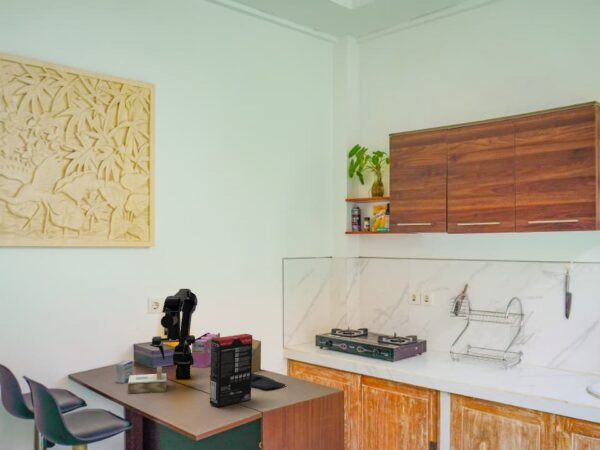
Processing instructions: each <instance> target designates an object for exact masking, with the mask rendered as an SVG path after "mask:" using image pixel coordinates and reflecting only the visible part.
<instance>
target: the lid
mask: <svg viewBox="0 0 600 450" xmlns="http://www.w3.org/2000/svg"><path fill="white" fill-rule="evenodd" d="M162 371H163V367H162V366H157V367H156V373H154V374H153V373H151V374H150V373H149V374H133V375H130V377H129V381H128V383H127V385H128V384H136V383H154V382H166V383H167V373H163V372H162Z"/></svg>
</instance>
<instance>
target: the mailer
mask: <svg viewBox="0 0 600 450" xmlns="http://www.w3.org/2000/svg"><path fill="white" fill-rule="evenodd" d="M151 392H152V393H164V392H165V393H166V392H167V381H166V382H154V383H136V384H128V383H127V394H128V395H131V394H134V395H136V394H151Z"/></svg>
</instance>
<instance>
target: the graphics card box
mask: <svg viewBox="0 0 600 450" xmlns="http://www.w3.org/2000/svg"><path fill="white" fill-rule="evenodd" d="M252 339H253V334H250V333H241V334H234V335H227V336H220V338H212V339H211V365H210V379H209V404H210V405H212V406H215V407H217V408H220V407H224V406H229V405H234V404H238V403H242V402H241V401H243V402H247V401H250V400H252V399H251V397H252V387H251V373H252ZM249 399H250V400H249ZM246 400H247V401H246ZM237 402H238V403H237ZM233 403H234V404H233Z"/></svg>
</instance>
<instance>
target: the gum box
mask: <svg viewBox="0 0 600 450" xmlns="http://www.w3.org/2000/svg"><path fill="white" fill-rule="evenodd" d="M220 337H221V333H220V332H217V334H216V333H211V332H205V333H203V334H202V335H201V336H199V337H197V338H195V343H194V344H191V353H192V356H193V359H194V365H191V368H201V369H202V368H203V369H206V368H207V367H209V366H211V339H212V338H220Z"/></svg>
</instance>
